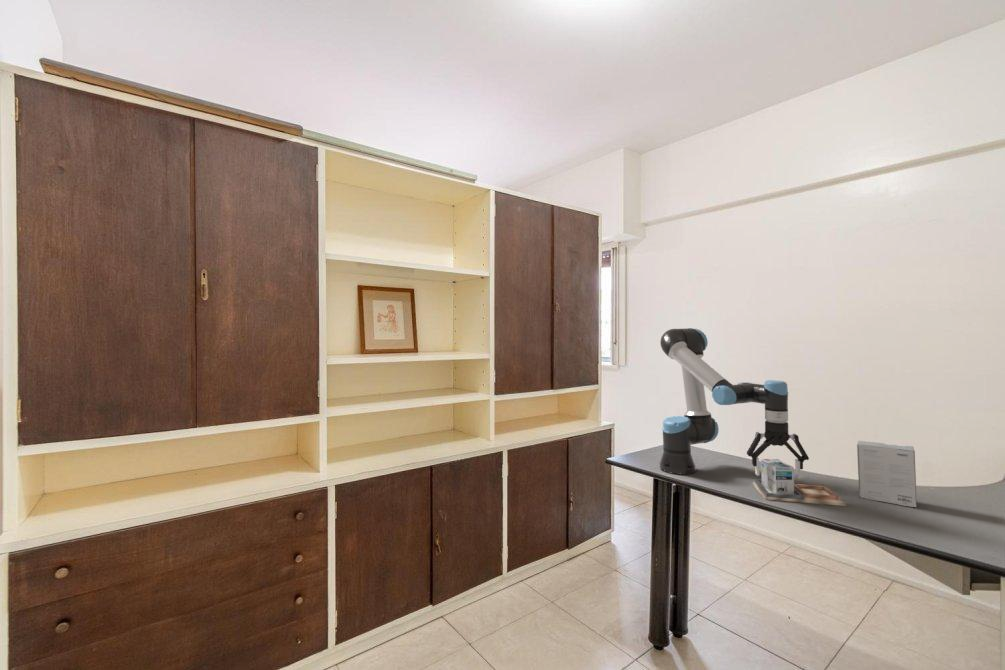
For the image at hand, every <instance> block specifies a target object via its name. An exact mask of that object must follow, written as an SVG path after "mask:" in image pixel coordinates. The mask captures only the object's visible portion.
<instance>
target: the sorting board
mask: <svg viewBox="0 0 1005 670" xmlns="http://www.w3.org/2000/svg"><path fill="white" fill-rule="evenodd" d="M752 485H753V486H754V488H755V489H757V491H758V492H759V493H760V495H761V496H762V497H763V498H764V500H770V501H782V502H791V503H792V502H793V503H794V502H795V503H804V504H817V505H827V506H828V505H831V506H840V507H841V506H842V507H847V503H846V502H845V501H844V500H843V499H841V498H840V497H839V496H838V495H837V494H836V493H835V492H833V490H832V489H830V488H829V487H828V486H823V485H816V484H815V485H814V484H802V483H801V484H800V483H794V495H791V494H778V493H773V492H771V491H770V490H768V489H767V488H765V487H764V486H763V485H762V478H760V479H759V478H758V479H757V478H754V481H753V483H752Z"/></svg>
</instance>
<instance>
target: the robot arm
mask: <svg viewBox="0 0 1005 670" xmlns="http://www.w3.org/2000/svg"><path fill="white" fill-rule="evenodd" d="M659 342H660V343H659V344H660V347H661V349H662V352H664V354H665V355H666V356H668V358H669V359H670V360H675V361H676V362H677V363H679V364H680V365H681V371H682V380H683V386H684V387H683V388H684V396H685V405H686V412H685V413H684V414H683V416H682V415H677V416H675V415H674V416H670V417H666V418H665V419H664V420H663V422H662V441H663V442H662V445H663V449H662V451H663V452H662V455H661V457H660V461H659V469H660V468H661V469H663V470H665V471H668V472H672V473H681V474H680V475H691V474H690V473H692V474H695V473H696V463H695V461H694V459H693V455H692V448H691V446H693V445H699V444H707V443H710V442H712V441H714V440H715V439H716V438H717V437H718V434H719V425H718V422H717V421H716V419H715V418H713V417H712V413H711V412H710V411H709V410H708V409H707V400H706V399H707V398H706V393H705V387H706V388H707V389H708V390H709V391H710V392H711V397H712V399H713V401H714V402H715V403H716V404H717V405H721V406H731V405H736V404H747V403H756V404H763V405H764V419H765V421H764V433H762V432H759V431H756V432H755V434H754V435H755V436H754V438H753V440H752V442H751V444H750V445H749V448H748V450H747V451H746V454H747V456H748V457H751V464H752V466H753V467H754V471H755V472H754V474H755V475H756V476H760V458H759V456H760V455H761V454H762V453H763V452H764V451H766V450H767V448H769V447H770V446H771V445H772V446H774V447H775V446H779V447H783V446H785V447H786V448H787V449H788V450H789V451H790V452H791V454H793V456H794V457H795V459H794V465H795V466H794V470H795V471H794V472H795V473H794V474H795V475H794V476H795V477H796V478H797V479H801V470H803V469H804V462H805V461H808V460H809V459H810V458H809V456H808V454H807V452H806V450H805V448H804V447H803V445H802V443H801V442H800V440H799V439H800V438H799V434H798V435H797V434H796V433H792V434H789V423H788V421H789V405H788V403H789V401H788V400H789V391H788V388H789V387H788V383H787V382H786V381H783V380H771V379H770V380H769V379H768V380H765V381H764V384H760V383H759V384H758V383H752V382H739V383H738V384H737V383H736V384H733V383H731V382H730V381H728V379H726V378H725V377H723V376H722V375H721V374H720V373H719V372H718V371H716V370H715V369H714V368H713V367H711V365H709V364H708V363H707V362H705V360H703V359H702V358H703V357H704V352H705V350H706V349H707V347H708V338H707V335H706V334H705V332H703V331H702V330H701V329H698V328H691V327H690V328H688V327H687V328H671V329H669V330H666V331H665V332H664V333H663V334H662V335H661V337H660V341H659ZM763 438H765V440H764V441H763V442H762V444H760V445H759V443H760V442H761V440H762V439H763ZM790 439H791V440H792V441H793V443H794V444H795V445H796V448H797V449H798V451H799V453H800V454H799V453H798V452H797V451H796V450H795V449H794V448H793V446H792V445H791V444H790V443H789V442H788V441H789V440H790ZM758 445H759V446H758ZM661 469H660V470H661ZM663 470H662V471H663ZM665 471H664V472H665ZM668 472H667V473H668ZM672 473H671V474H672Z"/></svg>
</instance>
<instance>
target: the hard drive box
mask: <svg viewBox="0 0 1005 670" xmlns="http://www.w3.org/2000/svg"><path fill="white" fill-rule="evenodd" d="M856 449H857V451H856V452H857V472H858V474H857V475H858V478H857V479H858V497H859V498H862V499H867V500H871V501H876V502H877V501H878V502H883V503H889V504H893V505H898V506H903V507H911V508H914V507H915V508H918V504H917V503H918V501H917V500H918V499H917V481H916V480H917V478H916V472H917V471H916V451H915V449H914V446H912V445H903V444H893V443H886V442H885V443H884V442H874V441H865V440H857V444H856Z"/></svg>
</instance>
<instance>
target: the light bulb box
mask: <svg viewBox="0 0 1005 670" xmlns="http://www.w3.org/2000/svg"><path fill="white" fill-rule="evenodd" d="M760 467H761V480H762V485H763V486H764V487H765V488H767V489H768V490H770V491H771V492H773V493H778V494H791V495H794V484H795V478H794V476H795V475H794V474H795V473H794V472H795V471H794V470H795V469H794V466H792V465H789V464H788V463H787V462H784V461H782V460H780V459H778V458H761V459H760Z"/></svg>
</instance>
